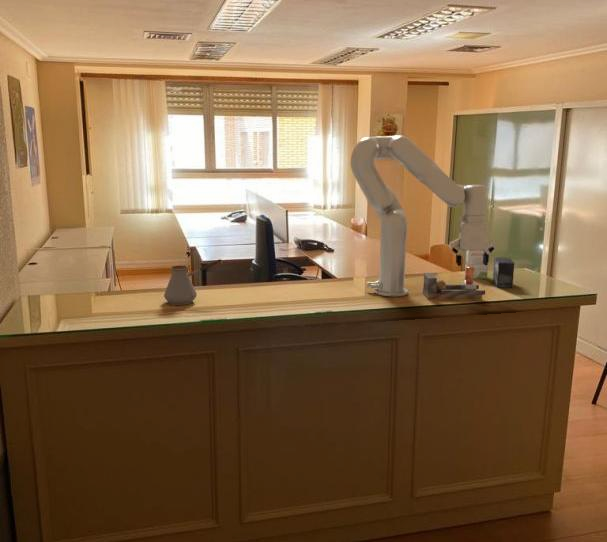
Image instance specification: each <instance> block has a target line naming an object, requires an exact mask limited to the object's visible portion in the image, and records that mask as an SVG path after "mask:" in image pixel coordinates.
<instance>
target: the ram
mask: <svg viewBox="0 0 607 542" xmlns="http://www.w3.org/2000/svg"><path fill="white" fill-rule="evenodd" d="M465 267H466V266H465ZM464 272H465V273H464V280H461V281H460V285H461V289H462V290H477V289H476V285H477V284H476V282H474V278H473V275H474V267H471V266H467V267H466V270H465V271H464Z"/></svg>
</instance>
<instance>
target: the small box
mask: <svg viewBox="0 0 607 542" xmlns="http://www.w3.org/2000/svg"><path fill="white" fill-rule="evenodd" d="M493 261H494V263H493V274H492V276H493V277H492V282H493V284H494V285H495V287H496V289H513V288H514V273H515V272H514V271H515V265H516V264H515V262H514V261H513V260H512V259H511V258H510V257H496V256H495V257H494V258H493Z"/></svg>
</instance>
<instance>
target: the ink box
mask: <svg viewBox="0 0 607 542" xmlns="http://www.w3.org/2000/svg"><path fill="white" fill-rule="evenodd" d="M489 247H490V246H489V244H488V248H489ZM465 253H466V254H465V268H464V269H465V270H466V267H467V266H471V267H474V275H473V279H488V270H489V262H488V263H487V265H484V264H483V254H484V251H483V250H479V251H466V252H465Z"/></svg>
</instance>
